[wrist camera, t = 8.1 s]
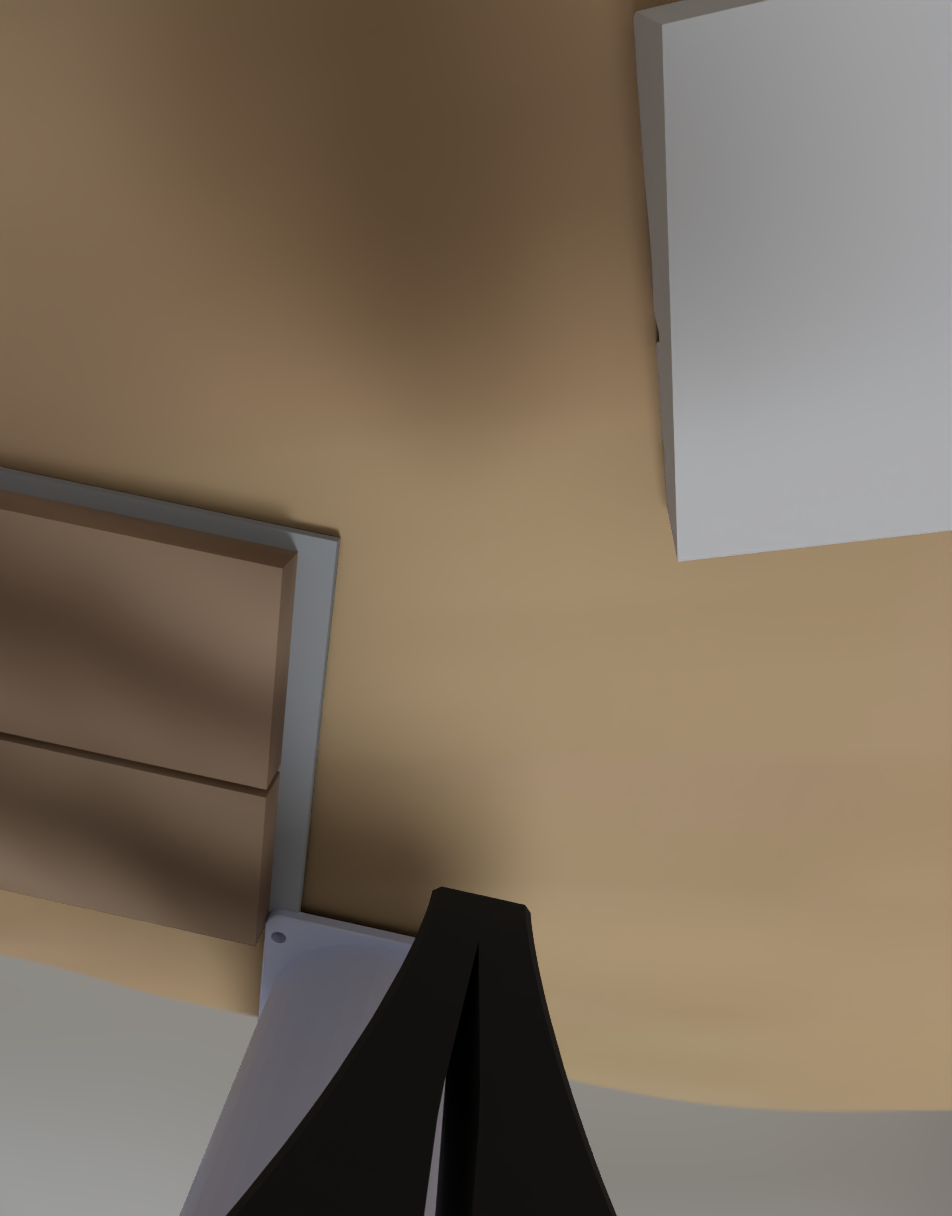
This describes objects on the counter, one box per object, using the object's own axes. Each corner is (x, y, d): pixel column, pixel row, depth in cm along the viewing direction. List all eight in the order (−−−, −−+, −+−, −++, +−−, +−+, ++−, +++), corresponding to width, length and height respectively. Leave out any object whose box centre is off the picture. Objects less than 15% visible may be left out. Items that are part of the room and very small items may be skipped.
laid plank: (268, 917, 26) (255, 946, 25) (-129, 829, 26) (-159, 853, 25) (280, 772, 23) (265, 798, 22) (-163, 675, 23) (-198, 696, 22)
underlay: (298, 926, 26) (296, 933, 26) (-146, 827, 26) (-154, 833, 26) (340, 538, 20) (337, 541, 20) (-244, 415, 20) (-255, 417, 20)
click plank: (281, 764, 23) (266, 789, 22) (-165, 667, 23) (-200, 687, 22) (298, 551, 20) (282, 568, 19) (-214, 444, 20) (-258, 454, 19)
